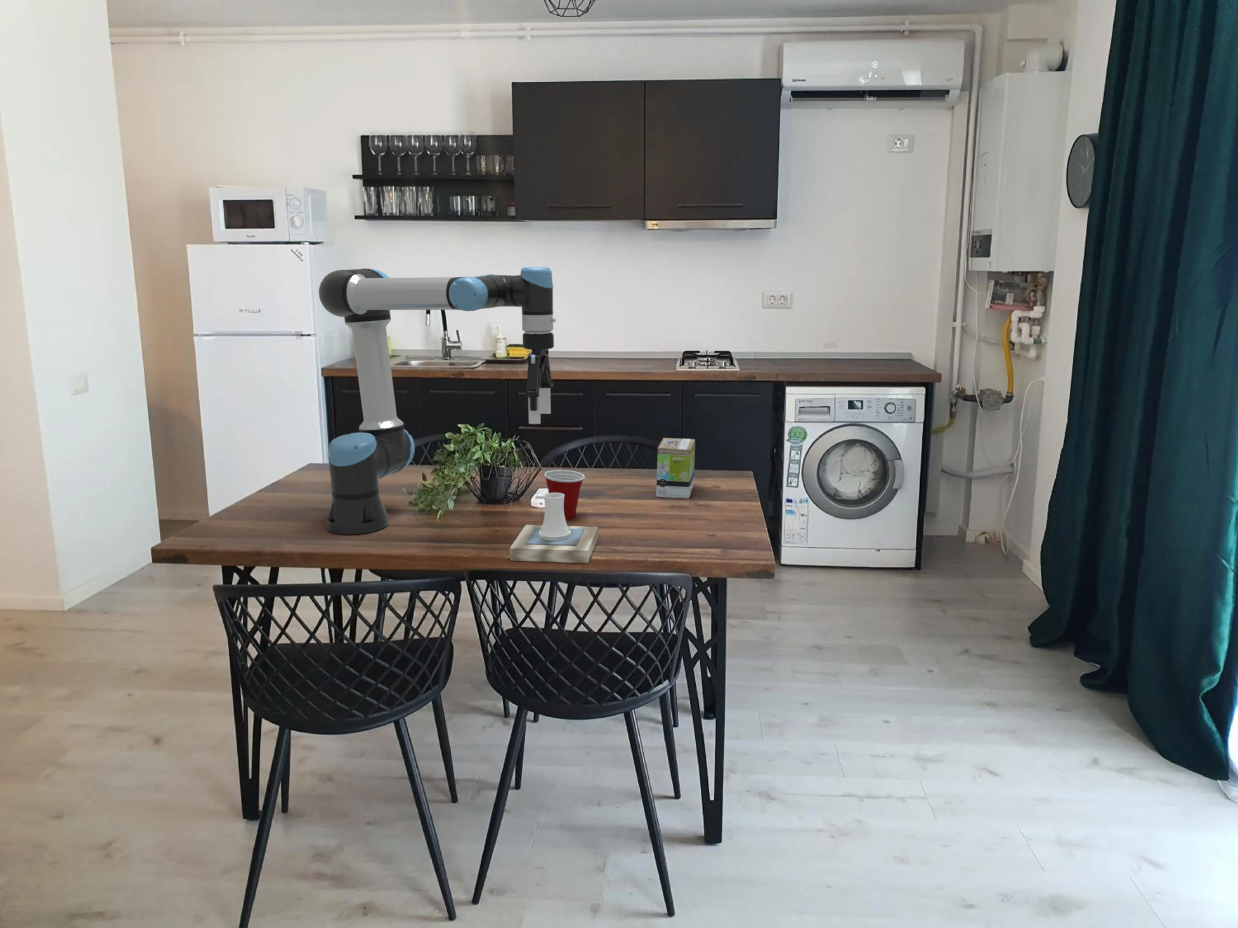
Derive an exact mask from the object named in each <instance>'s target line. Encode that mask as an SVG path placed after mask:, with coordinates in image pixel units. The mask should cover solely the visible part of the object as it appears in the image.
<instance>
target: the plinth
mask: <svg viewBox="0 0 1238 928" xmlns="http://www.w3.org/2000/svg"><path fill="white" fill-rule="evenodd" d="M542 525H543V524H525V525H524V527H523V528H522V530H521V531H520V533H519V534H518V536H517V537H516V539H515V540H514V541H513V543H512V544H511V546H510V547H509V560H510V561H513V562H514V561H515V562H516V561H517V562H539V563H540V562H541V563H542V562H544V563H545V562H546V563H569V564H571V563H573V564H588V563H589V562H590V559H591V557H590V555H591V556H592V554H593V552H592V551H594V550H593V549H594V548H595V547H596V545H595V544H597V542H598V540H599V527H598V526H584V525H583V526H580V525H567V526H568V529H569V530H570V531H571V533H570V534H571V536H570V537H569V538H567V539H564V540H555V541H553V540H544V539H541V538H540V537H539V531H540V530H541V528H542ZM597 539H598V540H597ZM594 546H595V547H594ZM591 553H592V554H591ZM589 558H590V559H589Z"/></svg>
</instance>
